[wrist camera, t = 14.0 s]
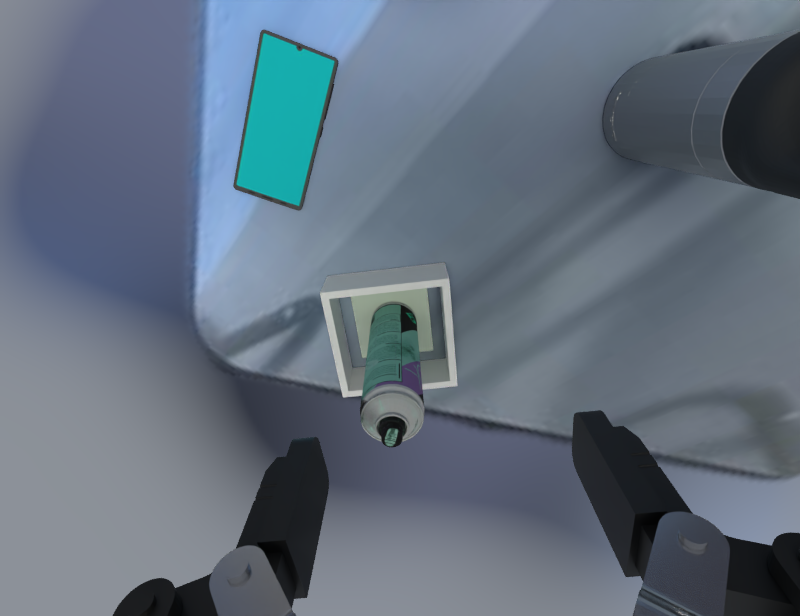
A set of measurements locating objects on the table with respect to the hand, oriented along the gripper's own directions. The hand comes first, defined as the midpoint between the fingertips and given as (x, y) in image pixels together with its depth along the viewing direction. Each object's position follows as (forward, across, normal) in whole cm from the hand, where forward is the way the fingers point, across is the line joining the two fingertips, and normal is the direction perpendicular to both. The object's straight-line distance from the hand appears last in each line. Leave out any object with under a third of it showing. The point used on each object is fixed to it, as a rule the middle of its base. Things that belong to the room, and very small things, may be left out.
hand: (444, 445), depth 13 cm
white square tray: (+36, +4, +14) cm, 38 cm away
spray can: (+36, +4, +13) cm, 38 cm away
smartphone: (+36, +12, -9) cm, 39 cm away
